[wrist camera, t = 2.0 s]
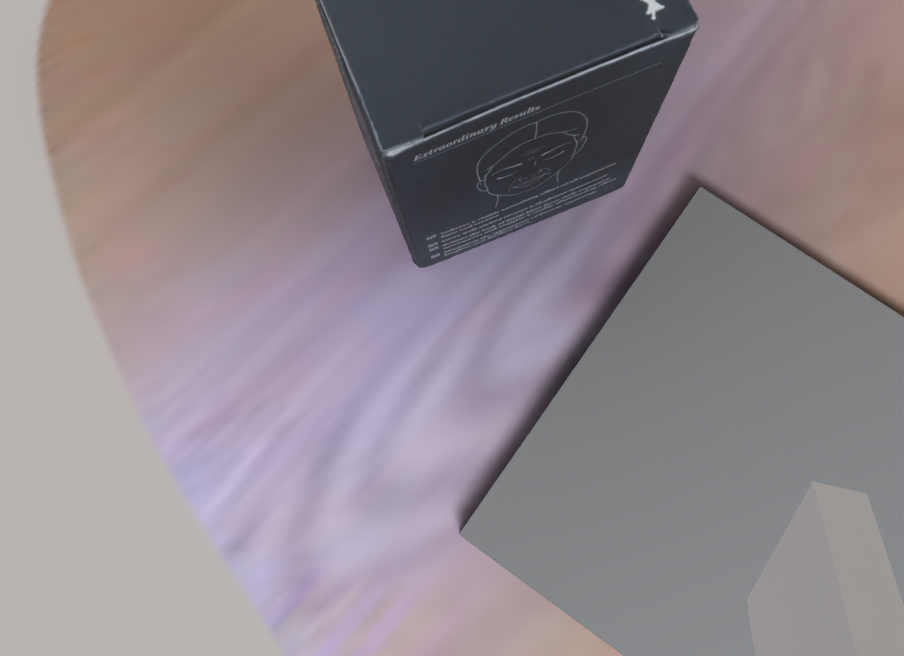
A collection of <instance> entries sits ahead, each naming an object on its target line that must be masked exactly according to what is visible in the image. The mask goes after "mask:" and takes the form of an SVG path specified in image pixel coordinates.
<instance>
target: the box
mask: <svg viewBox="0 0 904 656" xmlns="http://www.w3.org/2000/svg"><path fill="white" fill-rule="evenodd" d="M315 1H316V4H317V7H318V10H319V13H320V16H321V19H322V22H323V25H324V27H325V30H326V33H327V35H328V38H329V41H330V44H331V46H332V49H333V52H334V55H335V57H336V61H337V63H338V66H339V70H340V72H341V75H342V78H343V81H344V83H345V86H346V89H347V92H348V95H349V98H350V101H351V104H352V106H353V110H354V113H355V115H356V118H357V121H358V124H359V127H360V129H361V132H362V135H363V137H364V140H365V142H366V145H367V147H368V150H369V152H370V154H371V157H372V159H373V162H374V164H375V167H376V169H377V172H378V174H379V177H380V179H381V182H382V184H383V187H384V189H385V192H386V194H387V196H388V199H389V201H390V204H391V206H392V209H393V211H394V214H395V216H396V219H397V221H398V224H399V226H400V228H401V231H402V234H403V236H404V238H405V240H406V243H407V245H408V248H409V251H410V253H411V255H412V259H413V262H414V263H415V264H416V265H417V266H418V267H420V268H422V267H427V266H430V265H433V264H435V263H438V262H440V261H443V260H445V259H448V258H450V257H453V256H455V255H457V254H460V253H463V252H465V251H467V250H470V249H472V248H475V247H478V246H480V245H482V244H485V243H487V242H490V241H492V240H495V239H497V238H500V237H502V236H505V235H507V234H509V233H512V232H514V231H517V230H519V229H521V228H524V227H526V226H529V225H531V224H534V223H537V222H539V221H541V220H544V219H546V218H549V217H551V216H554V215H556V214H558V213H561V212H563V211H566V210H568V209H571V208H573V207H575V206H578V205H580V204H583V203H585V202H588V201H590V200H593V199H595V198H598V197H600V196H603V195H605V194H607V193H610V192H612V191H614V190H617V189H619V188H621V187H623V186H624V184H625V182H626V180H627V177H628V175H629V173H630V171H631V169H632V167H633V165H634V162H635V160H636V158H637V156H638V154H639V152H640V150H641V148H642V146H643V143H644V142H645V139H646V137H647V135H648V133H649V130H650V128H651V126H652V124H653V122H654V120H655V118H656V116H657V114H658V112H659V110H660V107H661V105H662V103H663V101H664V99H665V97H666V95H667V93H668V90H669V88H670V86H671V84H672V82H673V80H674V77H675V75H676V73H677V71H678V68H679V66H680V64H681V62H682V60H683V58H684V56H685V54H686V52H687V50H688V47H689V45H690V42H691V39H692V38H693V36H694V34H695V32H696V31H697V30H698V27H699V26H698V17H697V14H696V13H695V11H694V10H693V8H692V6H691V4H690V2H689V1H688V0H315Z"/></svg>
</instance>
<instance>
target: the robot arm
mask: <svg viewBox="0 0 904 656" xmlns="http://www.w3.org/2000/svg"><path fill="white" fill-rule="evenodd" d="M747 606H748V613H749V620H750V627H751V634H752V640H753V647H754V654H755V656H904V604H903V601H902V598H901V595H900V592H899V589H898V586H897V583H896V580H895V577H894V574H893V571H892V568H891V565H890V562H889V558H888V555H887V552H886V549H885V546H884V543H883V540H882V537H881V534H880V531H879V528H878V525H877V522H876V519H875V516H874V513H873V510H872V507H871V504H870V501H869V498H868V495H867V493H863V492H859V491H854V490H850V489H845V488H841V487H836V486H832V485H827V484H822V483H818V482H812V484H811V486H810V487H809V489H808V491H807V493H806V495H805V496H804V498H803V500H802V502H801V503H800V505H799V507H798V509H797V511H796V512H795V514H794V516H793V518H792V520H791V521H790V523H789V525H788V527H787V529H786V530H785V532H784V534H783V536H782V537H781V539H780V541H779V543H778V545H777V546H776V548H775V550H774V552H773V554H772V555H771V557H770V559H769V561H768V563H767V564H766V566H765V568H764V570H763V571H762V573H761V575H760V577H759V579H758V580H757V582H756V584H755V586H754V588H753V589H752V591H751V593H750V595H749V597H748V598H747Z"/></svg>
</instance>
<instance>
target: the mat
mask: <svg viewBox="0 0 904 656" xmlns="http://www.w3.org/2000/svg"><path fill="white" fill-rule="evenodd" d="M812 482H818V483H822V484H827V485H832V486H836V487H841V488H845V489H850V490H854V491H859V492H863V493H867V495H868V498H869V501H870V504H871V507H872V510H873V513H874V516H875V519H876V522H877V525H878V528H879V531H880V534H881V537H882V540H883V543H884V546H885V549H886V552H887V555H888V558H889V562H890V565H891V568H892V571H893V574H894V577H895V580H896V583H897V586H898V589H899V592H900V595H901V598H902V601H903V604H904V317H903V316H901V315H900V314H898V313H896V312H895V311H893V310H892V309H890V308H889V307H887V306H886V305H884V304H882V303H881V302H879V301H878V300H876V299H875V298H873V297H872V296H870V295H868V294H867V293H865V292H864V291H862V290H861V289H859V288H858V287H856V286H854V285H853V284H851V283H850V282H848V281H847V280H845V279H844V278H842V277H840V276H839V275H837V274H836V273H834V272H833V271H831V270H830V269H828V268H826V267H825V266H823V265H822V264H820V263H819V262H817V261H816V260H814V259H812V258H811V257H809V256H808V255H806V254H805V253H803V252H802V251H800V250H798V249H797V248H795V247H794V246H792V245H791V244H789V243H788V242H786V241H784V240H783V239H781V238H780V237H778V236H777V235H775V234H774V233H772V232H770V231H769V230H767V229H766V228H764V227H763V226H761V225H760V224H758V223H756V222H755V221H753V220H752V219H750V218H749V217H747V216H746V215H744V214H742V213H741V212H739V211H738V210H736V209H735V208H733V207H732V206H730V205H728V204H727V203H725V202H724V201H722V200H721V199H719V198H718V197H716V196H714V195H713V194H711V193H710V192H708V191H707V190H705V189H704V188H702V187H700V188H699V189H698V190H697V192H696V193H695V194H694V196H693V197H692V198H691V200H690V201H689V203H688V204H687V206H686V207H685V209H684V210H683V211H682V213H681V214H680V216H679V217H678V219H677V220H676V221H675V223H674V224H673V226H672V227H671V229H670V230H669V232H668V233H667V234H666V236H665V237H664V239H663V240H662V242H661V243H660V245H659V246H658V247H657V249H656V250H655V252H654V253H653V255H652V256H651V258H650V259H649V260H648V262H647V263H646V265H645V266H644V268H643V269H642V270H641V272H640V273H639V275H638V276H637V278H636V279H635V281H634V282H633V283H632V285H631V286H630V288H629V289H628V291H627V292H626V294H625V295H624V296H623V298H622V299H621V301H620V302H619V304H618V305H617V307H616V308H615V309H614V311H613V312H612V314H611V315H610V317H609V318H608V319H607V321H606V322H605V324H604V325H603V327H602V328H601V330H600V331H599V332H598V334H597V335H596V337H595V338H594V340H593V341H592V343H591V344H590V345H589V347H588V348H587V350H586V351H585V353H584V354H583V356H582V357H581V358H580V360H579V361H578V363H577V364H576V366H575V367H574V368H573V370H572V371H571V373H570V374H569V376H568V377H567V379H566V380H565V381H564V383H563V384H562V386H561V387H560V389H559V390H558V392H557V393H556V394H555V396H554V397H553V399H552V400H551V402H550V403H549V405H548V406H547V407H546V409H545V410H544V412H543V413H542V415H541V416H540V417H539V419H538V420H537V422H536V423H535V425H534V426H533V428H532V429H531V430H530V432H529V433H528V435H527V436H526V438H525V439H524V441H523V442H522V443H521V445H520V446H519V448H518V449H517V451H516V452H515V454H514V455H513V456H512V458H511V459H510V461H509V462H508V464H507V465H506V466H505V468H504V469H503V471H502V472H501V474H500V475H499V477H498V478H497V479H496V481H495V482H494V484H493V485H492V487H491V488H490V490H489V491H488V492H487V494H486V495H485V497H484V498H483V500H482V501H481V503H480V504H479V505H478V507H477V508H476V510H475V511H474V513H473V514H472V515H471V517H470V518H469V520H468V521H467V523H466V524H465V526H464V527H463V528H462V530H461V531H460V533H459V535H461V536H462V537H463V538H465V539H466V540H467V541H469V542H470V543H471V544H473V545H474V546H476V547H477V548H478V549H480V550H481V551H482V552H484V553H485V554H486V555H488V556H489V557H490V558H492V559H493V560H495V561H496V562H497V563H499V564H500V565H501V566H503V567H504V568H505V569H507V570H508V571H510V572H511V573H512V574H514V575H515V576H516V577H518V578H519V579H520V580H522V581H523V582H524V583H526V584H527V585H529V586H530V587H531V588H533V589H534V590H535V591H537V592H538V593H539V594H541V595H542V596H544V597H545V598H546V599H548V600H549V601H550V602H552V603H553V604H554V605H556V606H557V607H558V608H560V609H561V610H563V611H564V612H565V613H567V614H568V615H569V616H571V617H572V618H573V619H575V620H576V621H578V622H579V623H580V624H582V625H583V626H584V627H586V628H587V629H588V630H590V631H591V632H592V633H594V634H595V635H597V636H598V637H599V638H601V639H602V640H603V641H605V642H606V643H607V644H609V645H610V646H611V647H613V648H614V649H616V650H617V651H618V652H620V653H621V654H622V655H624V656H755V654H754V647H753V640H752V634H751V627H750V620H749V613H748V606H747V598H748V597H749V595H750V593H751V591H752V589H753V588H754V586H755V584H756V582H757V580H758V579H759V577H760V575H761V573H762V571H763V570H764V568H765V566H766V564H767V563H768V561H769V559H770V557H771V555H772V554H773V552H774V550H775V548H776V546H777V545H778V543H779V541H780V539H781V537H782V536H783V534H784V532H785V530H786V529H787V527H788V525H789V523H790V521H791V520H792V518H793V516H794V514H795V512H796V511H797V509H798V507H799V505H800V503H801V502H802V500H803V498H804V496H805V495H806V493H807V491H808V489H809V487H810V486H811V484H812Z"/></svg>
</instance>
